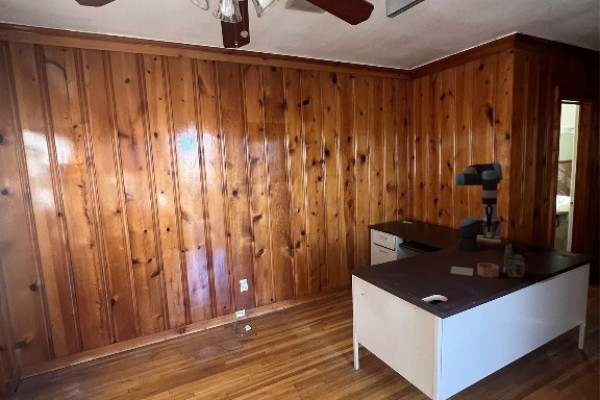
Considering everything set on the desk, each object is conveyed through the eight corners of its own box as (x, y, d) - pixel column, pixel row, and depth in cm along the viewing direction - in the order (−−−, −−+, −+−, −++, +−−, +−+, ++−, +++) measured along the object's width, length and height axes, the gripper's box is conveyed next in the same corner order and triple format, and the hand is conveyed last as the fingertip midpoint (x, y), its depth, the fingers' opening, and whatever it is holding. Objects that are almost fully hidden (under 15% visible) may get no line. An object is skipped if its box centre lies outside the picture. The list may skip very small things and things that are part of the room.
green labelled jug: (524, 278, 182) (525, 253, 180) (506, 277, 186) (506, 252, 184) (520, 272, 191) (521, 248, 189) (502, 271, 194) (503, 248, 192)
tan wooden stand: (477, 236, 196) (477, 219, 195) (500, 238, 190) (500, 220, 189) (476, 241, 186) (476, 223, 184) (500, 243, 180) (501, 224, 178)
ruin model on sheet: (509, 259, 216) (510, 245, 214) (504, 258, 218) (504, 244, 216) (512, 255, 224) (512, 241, 223) (507, 254, 226) (507, 241, 225)
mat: (452, 267, 206) (452, 266, 206) (473, 269, 200) (473, 268, 200) (450, 273, 195) (450, 273, 195) (472, 276, 189) (472, 275, 189)
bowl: (477, 270, 198) (477, 262, 197) (498, 272, 193) (498, 264, 192) (477, 276, 189) (477, 267, 188) (499, 279, 183) (499, 270, 182)
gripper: (482, 195, 193) (481, 233, 196) (481, 198, 180) (481, 239, 183) (496, 195, 190) (495, 233, 193) (497, 199, 176) (496, 240, 179)
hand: (488, 236), depth 188 cm, fingers closed on tan wooden stand, 3 cm apart
